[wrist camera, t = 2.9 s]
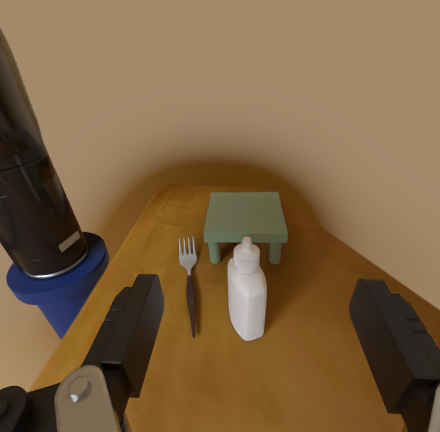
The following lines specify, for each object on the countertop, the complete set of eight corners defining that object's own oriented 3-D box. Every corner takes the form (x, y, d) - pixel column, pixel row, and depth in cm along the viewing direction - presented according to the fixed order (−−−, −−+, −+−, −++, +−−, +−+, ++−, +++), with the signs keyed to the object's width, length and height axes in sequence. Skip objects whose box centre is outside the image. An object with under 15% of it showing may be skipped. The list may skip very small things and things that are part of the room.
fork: (182, 342, 28) (179, 332, 27) (179, 247, 42) (177, 237, 40) (206, 338, 29) (204, 328, 28) (195, 245, 42) (194, 235, 41)
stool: (206, 266, 38) (202, 233, 34) (213, 221, 47) (210, 192, 44) (283, 267, 37) (288, 233, 34) (275, 221, 46) (278, 191, 43)
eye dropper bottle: (266, 302, 32) (272, 223, 25) (262, 345, 28) (269, 263, 21) (231, 297, 33) (228, 219, 26) (222, 338, 29) (216, 257, 22)
